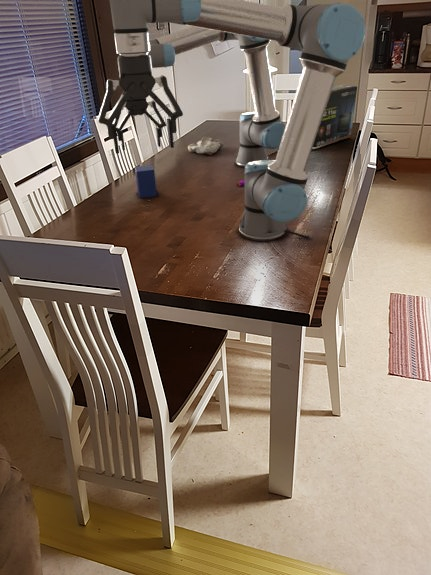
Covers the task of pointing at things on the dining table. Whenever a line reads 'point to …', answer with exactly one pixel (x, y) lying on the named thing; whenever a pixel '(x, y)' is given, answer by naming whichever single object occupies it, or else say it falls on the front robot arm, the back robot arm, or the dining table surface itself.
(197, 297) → the dining table surface
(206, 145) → the fossil
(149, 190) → the block
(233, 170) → the dining table surface
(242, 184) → the handgun
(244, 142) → the back robot arm
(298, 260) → the dining table surface
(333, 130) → the router box
